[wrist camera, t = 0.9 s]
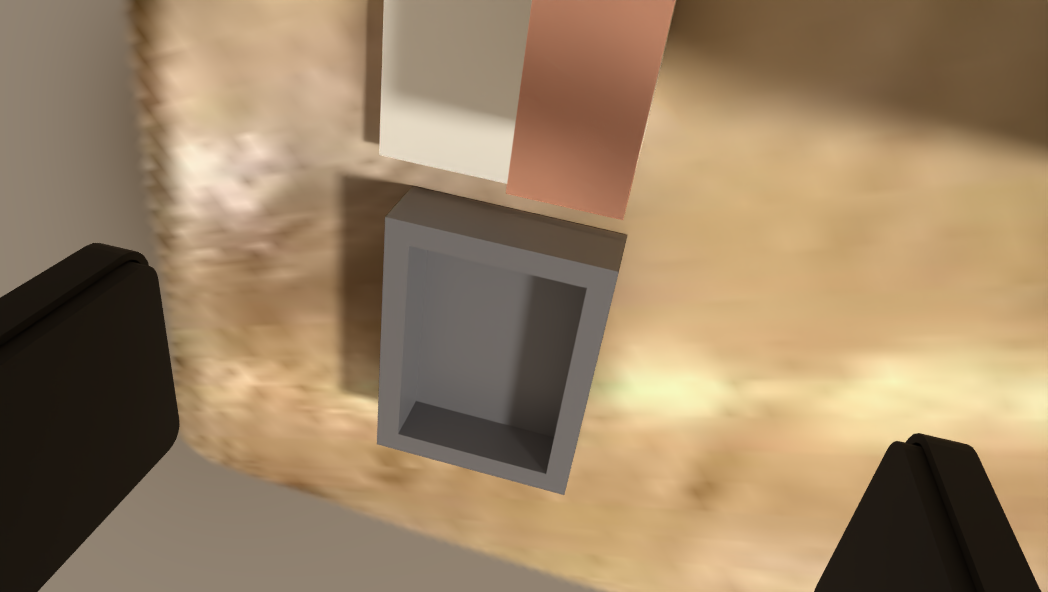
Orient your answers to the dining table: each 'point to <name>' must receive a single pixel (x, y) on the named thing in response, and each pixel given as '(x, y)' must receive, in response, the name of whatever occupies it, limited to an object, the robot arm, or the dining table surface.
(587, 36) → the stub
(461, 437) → the tray
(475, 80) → the cream slab
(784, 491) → the dining table surface
